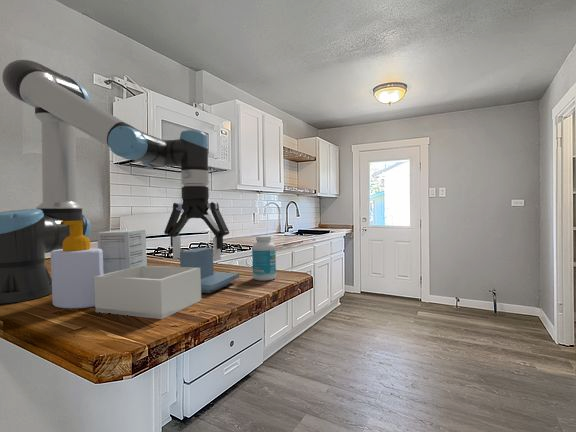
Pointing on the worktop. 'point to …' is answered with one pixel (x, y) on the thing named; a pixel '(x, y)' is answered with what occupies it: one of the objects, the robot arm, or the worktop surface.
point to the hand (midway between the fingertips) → (196, 259)
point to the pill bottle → (264, 259)
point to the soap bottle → (75, 269)
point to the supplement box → (122, 249)
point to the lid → (206, 269)
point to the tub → (147, 291)
